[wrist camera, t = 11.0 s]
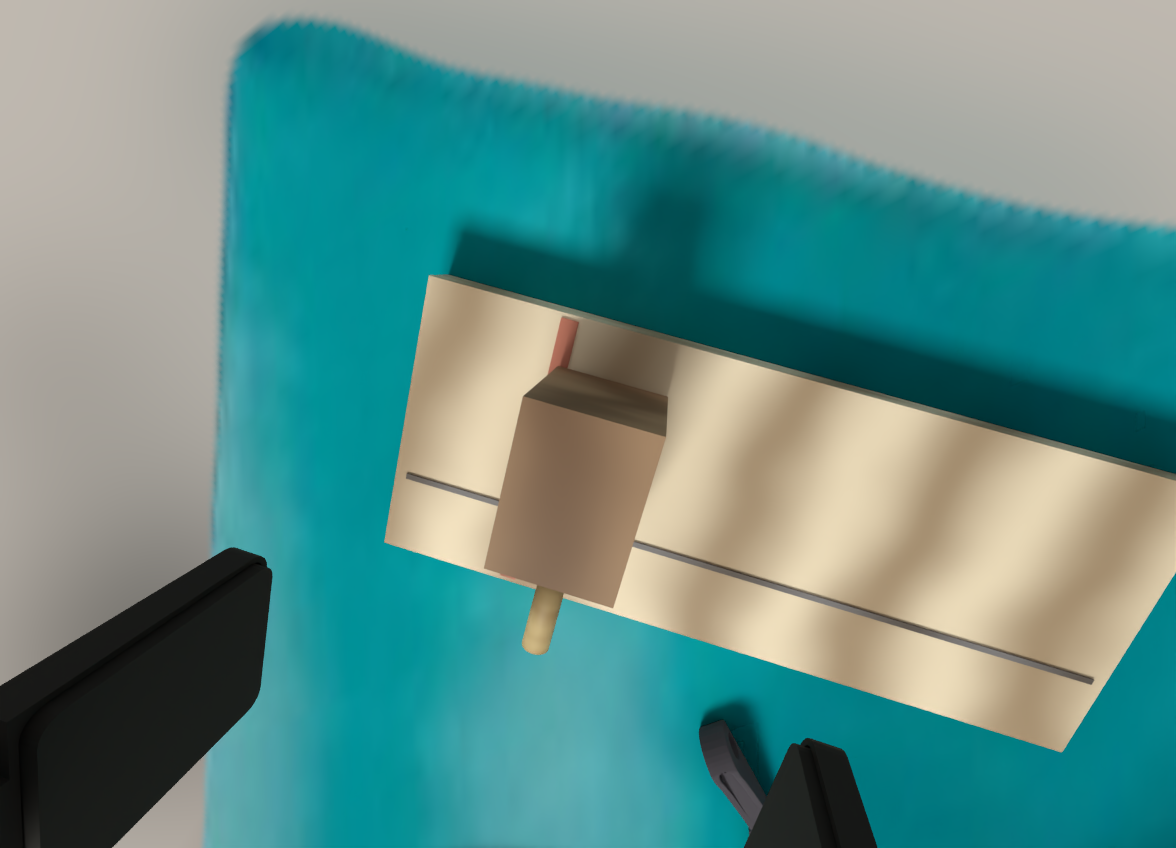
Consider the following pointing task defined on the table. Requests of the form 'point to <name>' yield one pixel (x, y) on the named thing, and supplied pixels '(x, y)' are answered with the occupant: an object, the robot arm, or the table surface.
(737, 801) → the bracket
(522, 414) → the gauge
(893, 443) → the board
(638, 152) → the table surface
